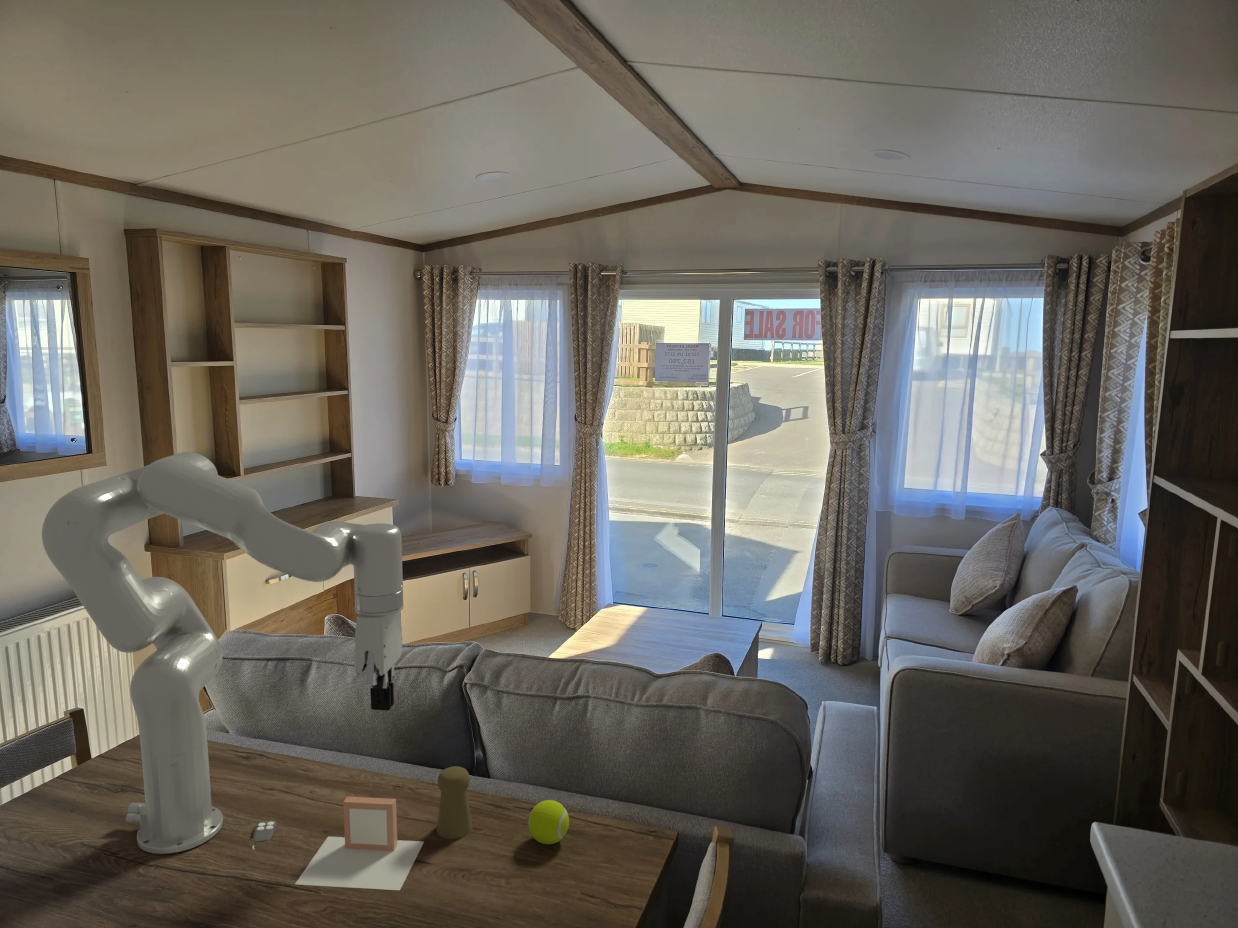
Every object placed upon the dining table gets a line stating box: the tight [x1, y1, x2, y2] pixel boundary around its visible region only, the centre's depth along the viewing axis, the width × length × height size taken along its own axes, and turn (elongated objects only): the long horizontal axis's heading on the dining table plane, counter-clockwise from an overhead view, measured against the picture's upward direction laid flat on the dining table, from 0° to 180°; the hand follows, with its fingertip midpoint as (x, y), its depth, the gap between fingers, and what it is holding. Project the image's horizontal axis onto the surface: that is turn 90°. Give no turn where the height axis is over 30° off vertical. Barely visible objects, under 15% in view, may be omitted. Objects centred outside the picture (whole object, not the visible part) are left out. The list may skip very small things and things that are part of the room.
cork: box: [436, 765, 473, 840], centre depth 138 cm, size 6×6×11 cm
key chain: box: [251, 819, 278, 850], centre depth 134 cm, size 13×4×2 cm, turn 14°
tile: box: [342, 796, 398, 851], centre depth 133 cm, size 8×2×8 cm, turn 86°
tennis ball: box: [528, 799, 570, 845], centre depth 136 cm, size 7×7×7 cm
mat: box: [294, 836, 425, 892], centre depth 129 cm, size 16×12×1 cm
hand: (382, 706), depth 137 cm, fingers closed
